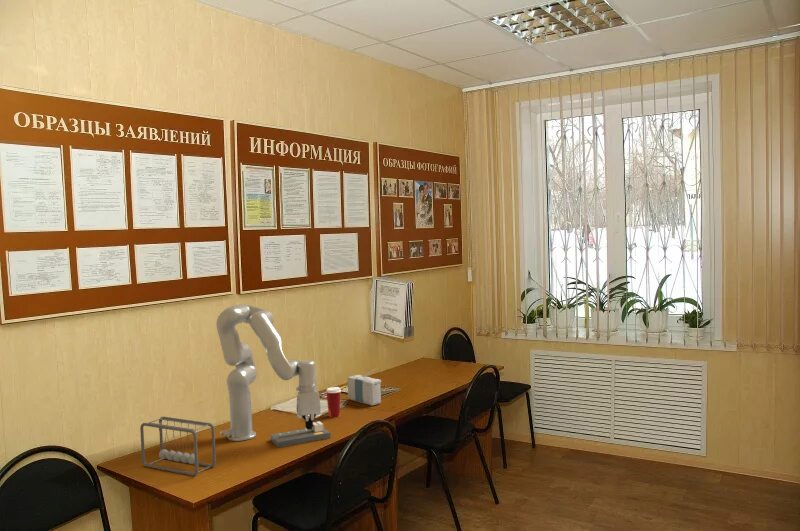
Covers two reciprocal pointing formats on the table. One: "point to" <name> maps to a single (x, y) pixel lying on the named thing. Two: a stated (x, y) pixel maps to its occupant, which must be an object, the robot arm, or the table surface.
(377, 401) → the stereo radio cassette player
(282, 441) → the fader panel
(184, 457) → the newton's cradle
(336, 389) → the paper cup
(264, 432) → the table surface
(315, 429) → the fader knob
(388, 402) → the table surface
